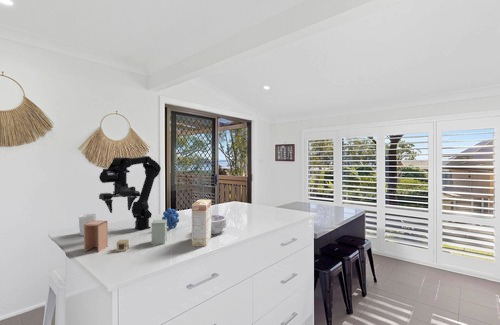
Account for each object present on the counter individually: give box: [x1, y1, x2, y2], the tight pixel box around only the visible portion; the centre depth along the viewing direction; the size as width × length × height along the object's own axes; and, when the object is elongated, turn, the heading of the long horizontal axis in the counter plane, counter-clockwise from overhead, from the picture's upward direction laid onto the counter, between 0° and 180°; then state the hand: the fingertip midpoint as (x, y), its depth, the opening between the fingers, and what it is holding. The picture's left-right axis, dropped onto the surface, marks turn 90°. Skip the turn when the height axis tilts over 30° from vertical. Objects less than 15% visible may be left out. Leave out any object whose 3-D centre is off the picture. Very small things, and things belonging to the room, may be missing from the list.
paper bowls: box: [211, 214, 227, 235], centre depth 146 cm, size 15×15×8 cm
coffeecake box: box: [191, 198, 212, 247], centre depth 130 cm, size 15×7×20 cm, turn 178°
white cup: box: [78, 213, 97, 237], centre depth 141 cm, size 8×8×10 cm
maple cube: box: [115, 238, 130, 252], centre depth 118 cm, size 4×4×4 cm
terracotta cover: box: [83, 220, 109, 253], centre depth 119 cm, size 7×7×12 cm
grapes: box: [161, 207, 180, 229], centre depth 152 cm, size 12×7×12 cm, turn 145°
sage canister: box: [150, 219, 168, 245], centre depth 128 cm, size 6×6×10 cm
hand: (120, 211), depth 137 cm, fingers open, 9 cm apart
